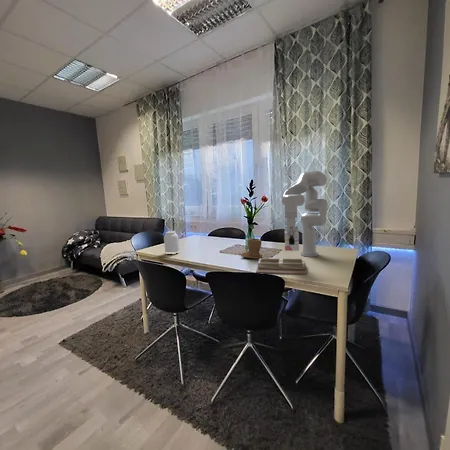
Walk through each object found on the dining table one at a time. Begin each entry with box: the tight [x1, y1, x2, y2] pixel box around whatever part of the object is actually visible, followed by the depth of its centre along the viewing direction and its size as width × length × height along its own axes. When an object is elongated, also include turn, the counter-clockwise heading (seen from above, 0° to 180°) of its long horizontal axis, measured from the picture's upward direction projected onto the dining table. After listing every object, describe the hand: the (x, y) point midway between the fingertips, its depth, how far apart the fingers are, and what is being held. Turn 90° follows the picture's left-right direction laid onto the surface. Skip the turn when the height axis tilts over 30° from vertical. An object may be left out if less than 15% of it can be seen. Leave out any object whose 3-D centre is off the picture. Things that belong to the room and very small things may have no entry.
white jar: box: [163, 230, 180, 253], centre depth 212 cm, size 12×12×20 cm
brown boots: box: [240, 237, 263, 260], centre depth 182 cm, size 15×12×15 cm
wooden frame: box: [255, 258, 307, 276], centre depth 155 cm, size 24×30×4 cm
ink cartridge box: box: [284, 226, 300, 252], centre depth 151 cm, size 9×5×15 cm, turn 77°
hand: (291, 243), depth 151 cm, fingers closed on ink cartridge box, 5 cm apart
